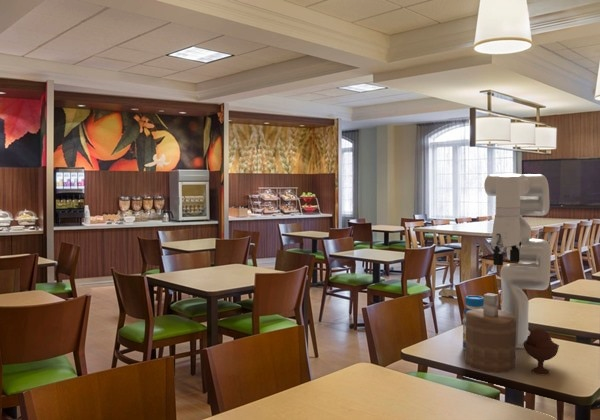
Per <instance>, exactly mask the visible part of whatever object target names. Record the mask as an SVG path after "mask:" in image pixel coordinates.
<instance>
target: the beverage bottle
mask: <svg viewBox="0 0 600 420" xmlns="http://www.w3.org/2000/svg"><path fill="white" fill-rule="evenodd" d="M464 304H465V306H466V307H465V308H464V310H463V312H462V313H463V314H462V316H463V319H462V349H463V350H465V351H466V312H467V311H468V310H472V309H483V306H484V296H482V295H473V294H472V295H471V294H470V295H466V296H465V300H464Z"/></svg>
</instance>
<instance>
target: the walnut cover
mask: <svg viewBox="0 0 600 420" xmlns="http://www.w3.org/2000/svg"><path fill="white" fill-rule="evenodd" d="M483 298H484V306H483V307H482V308H483V309H472V310H468V311H467V312H466V350H465V360H464V361H465V365H467V366H468V367H470V368H471V369H473V370H474V369H475V370H477V371H478V370H479V371H482V372H490V373H498V374H499V373H508V372H511V371H513V370H516V354H517V353H516V351H517V348H516V315H515V314H513V313H510V312H507V311H502V310H501V309H499V294H496V293H491V292H487V293H484V294H483Z"/></svg>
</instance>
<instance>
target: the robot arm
mask: <svg viewBox="0 0 600 420" xmlns="http://www.w3.org/2000/svg"><path fill="white" fill-rule="evenodd" d="M484 191H485V193H486V195H488V196H490V197H495V217H494V219H493V225H492V236H491V240H490V241H489V242H490V247H491V250H492V253H493V259H492V261H493V262H492V263H493V265H494V266H499V267H501V268H500V282H501V290H502V293H501V294H502V295H501V297H502V304H501V307H502V308H501V309H502V311H507V312H510V313H513V314H515V315H516V349H520V350H521V349H525V348H524V344H523V343H524V341H526V340H527V337H528V335H530V332H531V331H530V330H529V311H530V310H529V308H530V307H529V305H530V303H529V301H530V300H529V298H528V296H527V293H525V292H524V291H523V290H532V291H533V290H534V291H545V290H547V289H548V288H549V286H550V280H551V279H550V278H551V261H552V260H551V259H552V257H551V256H552V251H551V245H550V243H549V241H547V240H545V239H543V238H531V237H532V236H531V235H532V227H531V226H530V224H529V223H528V222H527V220H526V219H524V218H523V217H522V216H535V217H537V216H539V217H540V216H541V217H543V216H546V215H547V214H548V213H549V210H550V187H549V182H548V179H547V177H546V176H545V175H543V174H541V173H537V174H533V173H532V174H531V173H527V174H526V173H525V174H524V173H523V174H522V173H506V174H505V173H504V174H503V173H502V174H501V173H500V174H499V173H498V174H488V175H487V176H486V177H485V179H484ZM505 248H506V256H507V259H508V260H509V261H510V262H511V263H506V264H504V253H503V251H504V249H505Z"/></svg>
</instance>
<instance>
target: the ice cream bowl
mask: <svg viewBox="0 0 600 420" xmlns="http://www.w3.org/2000/svg"><path fill="white" fill-rule="evenodd" d="M523 344H524V348H523V349H524V351H525V352H526V353H527V354H528V355H529V356H530V357H532V358H533V359H535V360H536V361H537V366H536V367H535V366H534V367H532V370H531V373H533V374H535V373H536V375H539V374H540V376H547V375H549V374H550V370H549V369H547V368H546V367H544V363H545V361H549V360H551V359H553V358H555V356H557V354H558V352H559V349H560V348H559V347H560V345H559V344H557V343H555V341H553V340H552V338H551V336H550V334H549V332H548V331H547V330H546V329H544V328H542V327H536V328H534V329H532V330H531V331H530V335H528V337H527V340H526V341H524V343H523Z"/></svg>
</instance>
